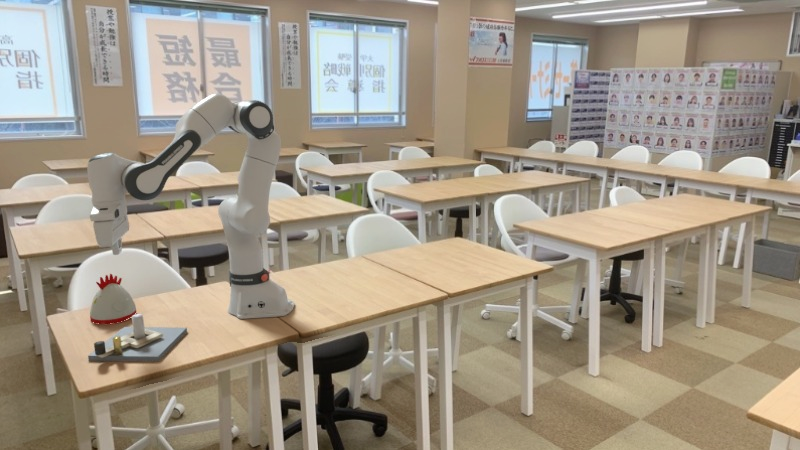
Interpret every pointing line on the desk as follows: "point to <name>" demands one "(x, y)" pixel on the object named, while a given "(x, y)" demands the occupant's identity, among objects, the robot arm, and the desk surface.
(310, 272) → the desk surface
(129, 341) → the knobbed lever handle
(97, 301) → the kitchen timer
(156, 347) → the board
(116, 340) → the gold rounded cylinder
